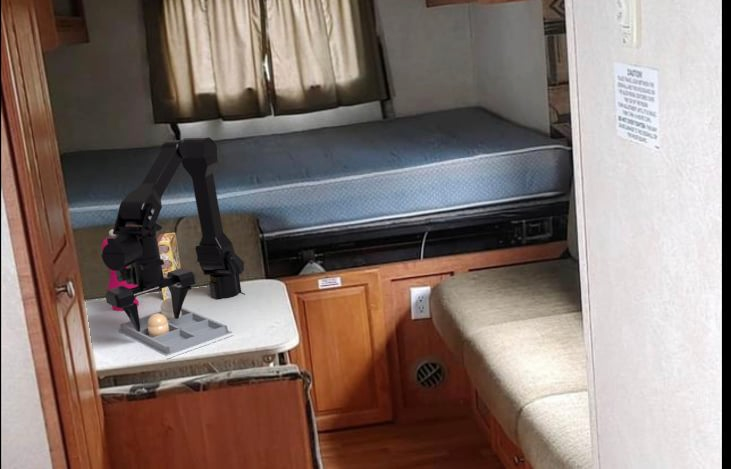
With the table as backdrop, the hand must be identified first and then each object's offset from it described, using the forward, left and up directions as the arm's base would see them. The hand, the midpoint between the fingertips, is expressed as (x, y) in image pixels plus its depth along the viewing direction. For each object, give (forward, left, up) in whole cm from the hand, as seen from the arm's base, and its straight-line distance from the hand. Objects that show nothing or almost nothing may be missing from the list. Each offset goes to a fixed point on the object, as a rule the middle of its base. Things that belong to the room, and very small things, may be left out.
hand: (157, 324), depth 206 cm
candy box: (-16, -24, -4) cm, 29 cm away
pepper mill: (-4, -26, -4) cm, 27 cm away
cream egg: (-7, -7, -3) cm, 10 cm away
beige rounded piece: (0, 0, -3) cm, 3 cm away
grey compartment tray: (-3, 0, -4) cm, 5 cm away
